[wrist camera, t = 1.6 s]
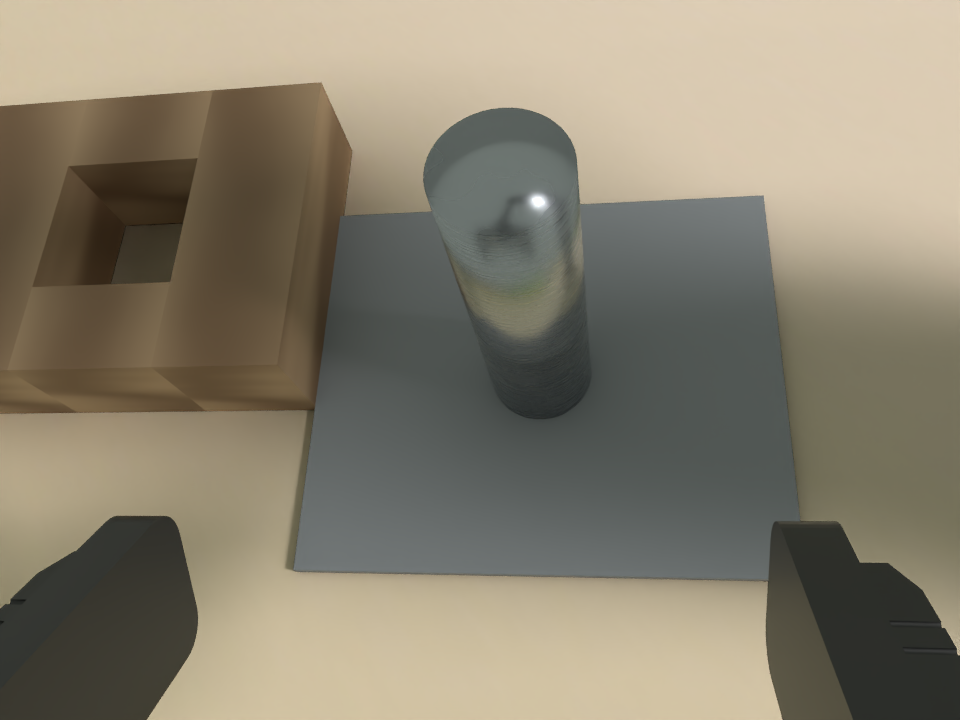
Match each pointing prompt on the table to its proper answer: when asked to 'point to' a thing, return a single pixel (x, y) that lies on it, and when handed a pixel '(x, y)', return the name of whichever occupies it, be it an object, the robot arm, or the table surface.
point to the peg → (516, 252)
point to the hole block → (199, 259)
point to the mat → (566, 438)
